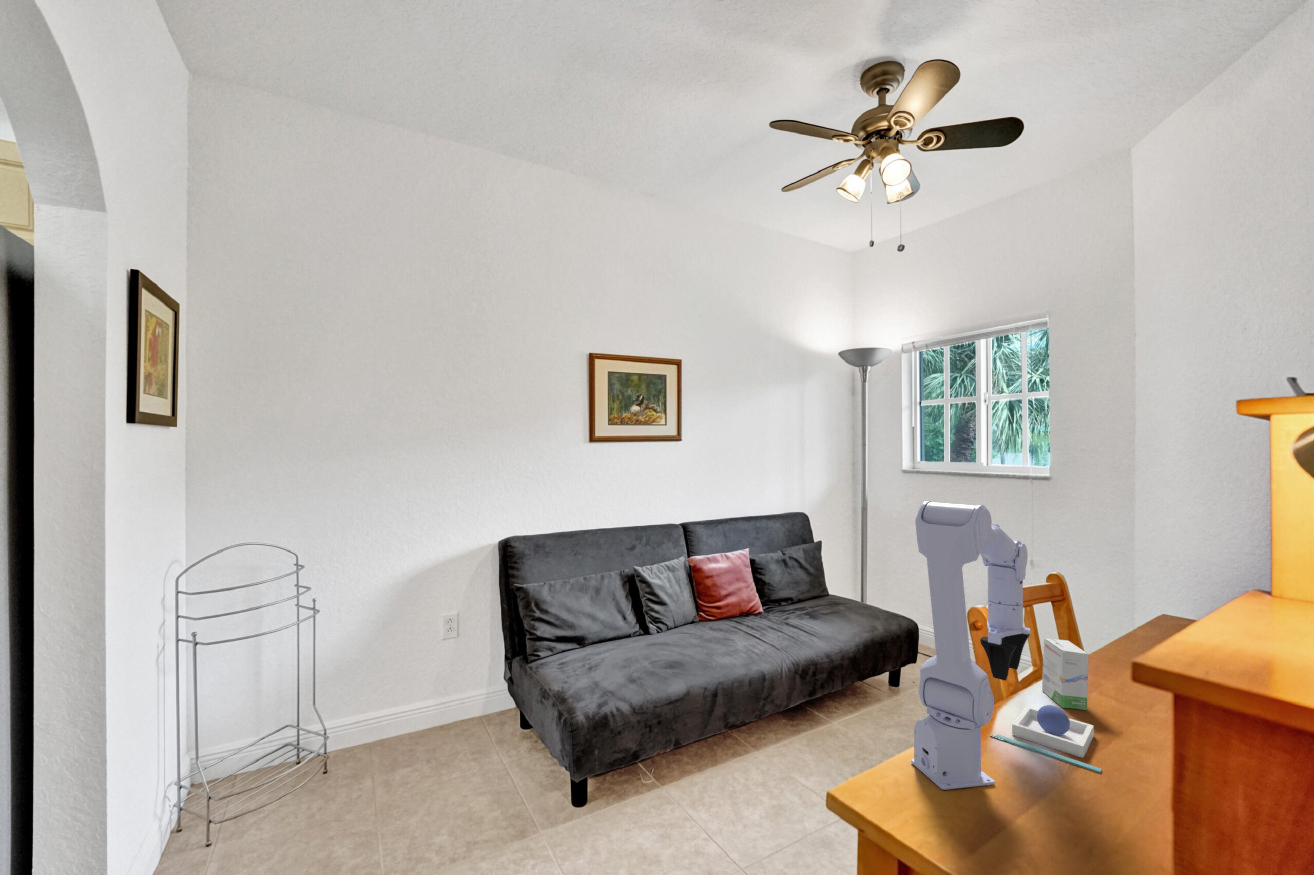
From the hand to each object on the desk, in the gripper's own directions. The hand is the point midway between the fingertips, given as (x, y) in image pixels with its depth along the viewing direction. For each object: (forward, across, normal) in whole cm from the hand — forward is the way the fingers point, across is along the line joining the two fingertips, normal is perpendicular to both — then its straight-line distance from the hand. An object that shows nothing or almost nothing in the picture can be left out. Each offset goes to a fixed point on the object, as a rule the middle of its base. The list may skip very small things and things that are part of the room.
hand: (1005, 673), depth 105 cm
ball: (+7, +3, -7) cm, 11 cm away
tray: (+10, +3, -7) cm, 13 cm away
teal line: (+10, -5, -7) cm, 13 cm away
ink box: (+10, +23, -5) cm, 26 cm away
